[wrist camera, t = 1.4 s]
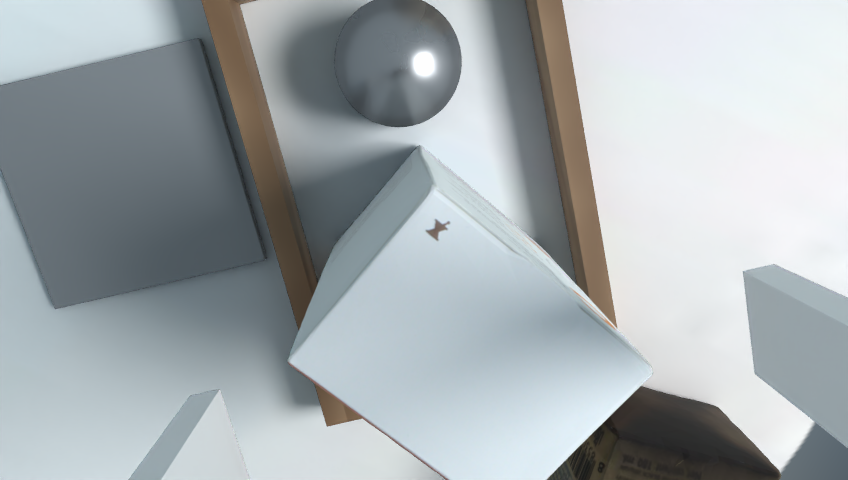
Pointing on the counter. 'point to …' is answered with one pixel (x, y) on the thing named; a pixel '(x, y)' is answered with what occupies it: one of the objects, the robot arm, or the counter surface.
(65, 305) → the mat
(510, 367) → the small box
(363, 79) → the tin
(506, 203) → the counter surface
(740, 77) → the counter surface
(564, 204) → the frame
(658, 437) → the beverage carton
